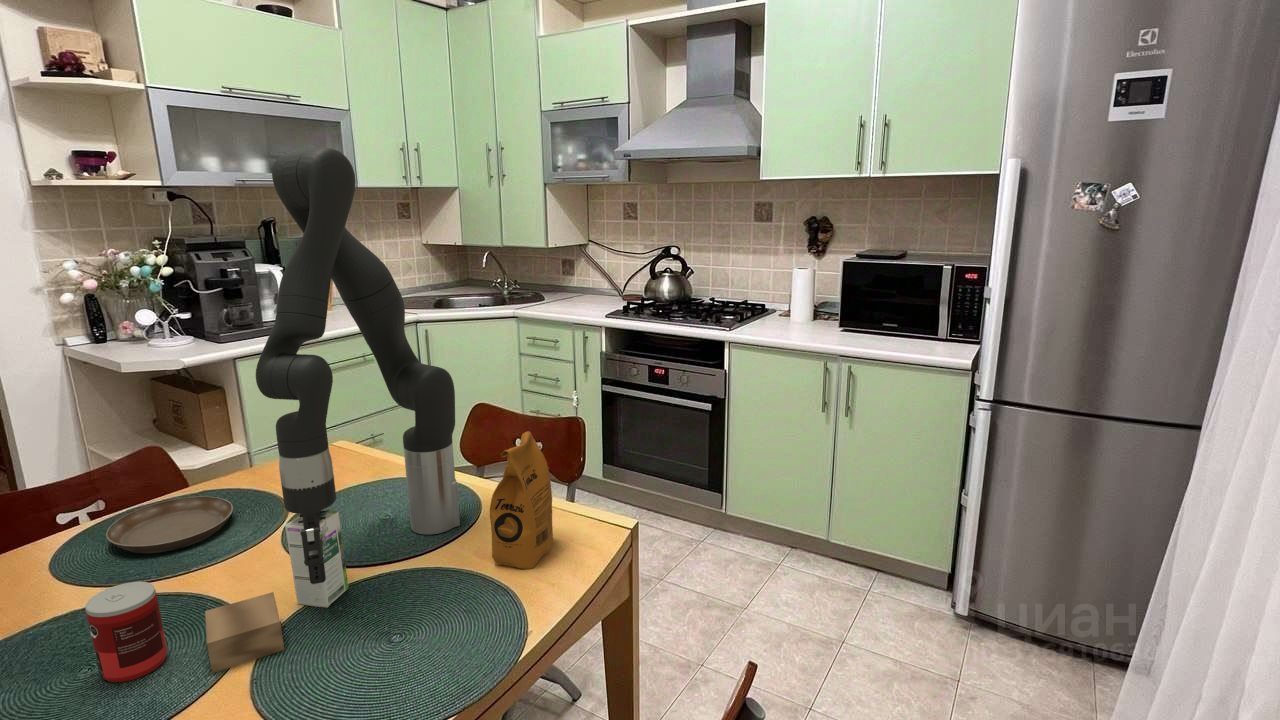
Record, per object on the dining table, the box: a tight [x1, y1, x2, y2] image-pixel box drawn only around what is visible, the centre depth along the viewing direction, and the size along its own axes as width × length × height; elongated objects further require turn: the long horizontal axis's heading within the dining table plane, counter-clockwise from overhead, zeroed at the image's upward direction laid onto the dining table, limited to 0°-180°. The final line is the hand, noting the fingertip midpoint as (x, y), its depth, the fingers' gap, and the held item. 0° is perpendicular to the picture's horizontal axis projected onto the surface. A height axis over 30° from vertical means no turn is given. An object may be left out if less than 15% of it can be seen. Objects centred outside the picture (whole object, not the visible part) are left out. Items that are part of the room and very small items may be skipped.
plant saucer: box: [105, 496, 234, 554], centre depth 133 cm, size 21×21×3 cm
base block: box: [204, 591, 285, 674], centre depth 99 cm, size 9×9×5 cm
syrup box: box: [284, 508, 350, 609], centre depth 110 cm, size 6×6×14 cm
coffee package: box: [489, 430, 554, 570], centre depth 122 cm, size 10×12×22 cm
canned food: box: [84, 581, 168, 683], centre depth 94 cm, size 8×8×11 cm
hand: (319, 569), depth 110 cm, fingers closed on syrup box, 7 cm apart
